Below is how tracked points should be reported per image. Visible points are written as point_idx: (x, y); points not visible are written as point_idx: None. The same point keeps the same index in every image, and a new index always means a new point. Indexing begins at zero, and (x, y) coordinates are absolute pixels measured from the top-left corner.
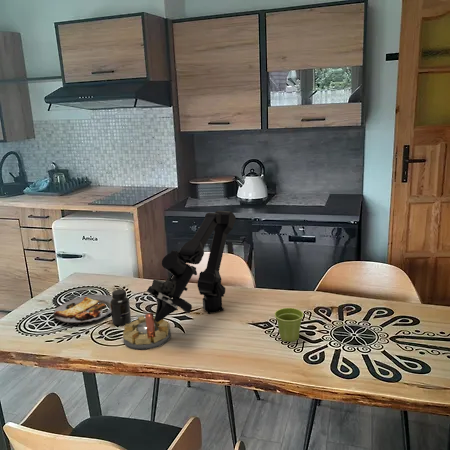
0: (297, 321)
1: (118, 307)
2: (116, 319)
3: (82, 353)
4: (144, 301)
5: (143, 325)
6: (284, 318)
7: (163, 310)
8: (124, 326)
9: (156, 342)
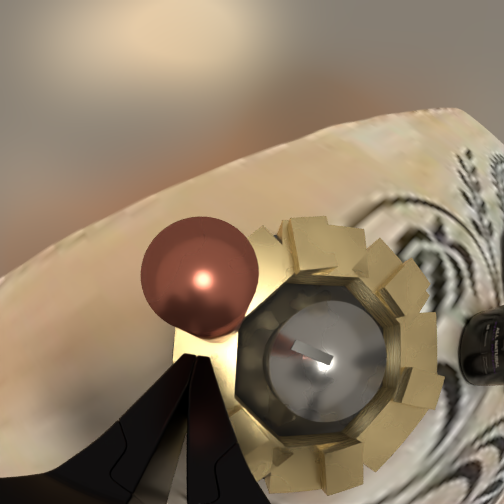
0: None
1: None
2: (489, 312)
3: (376, 139)
4: (498, 467)
5: (350, 350)
6: None
7: (94, 452)
8: (411, 259)
9: None
